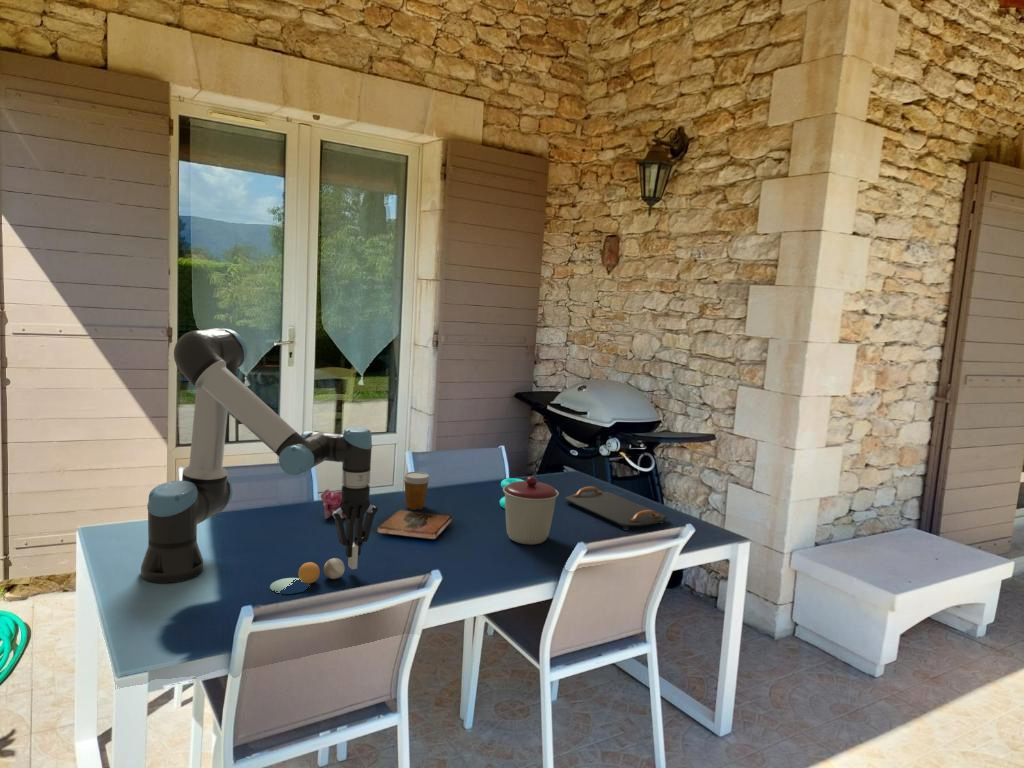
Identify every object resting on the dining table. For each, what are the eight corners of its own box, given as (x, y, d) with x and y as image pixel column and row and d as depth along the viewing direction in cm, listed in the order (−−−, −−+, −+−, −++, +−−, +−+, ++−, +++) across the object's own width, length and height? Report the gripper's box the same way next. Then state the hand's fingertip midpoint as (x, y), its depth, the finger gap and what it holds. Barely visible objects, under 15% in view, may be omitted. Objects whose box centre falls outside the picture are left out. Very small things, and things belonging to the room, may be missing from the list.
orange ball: (301, 583, 191) (291, 568, 189) (318, 570, 194) (309, 555, 192) (308, 591, 187) (299, 575, 185) (326, 577, 190) (317, 562, 187)
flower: (353, 525, 245) (355, 507, 238) (323, 529, 241) (324, 511, 234) (347, 498, 252) (349, 480, 245) (319, 502, 248) (319, 484, 242)
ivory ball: (342, 560, 198) (330, 577, 196) (329, 551, 194) (316, 568, 193) (352, 568, 194) (339, 585, 192) (338, 559, 190) (325, 577, 189)
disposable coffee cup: (415, 501, 264) (417, 469, 263) (433, 507, 258) (435, 475, 257) (396, 506, 257) (397, 474, 255) (414, 513, 251) (416, 480, 249)
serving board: (673, 526, 259) (675, 509, 258) (627, 535, 245) (629, 518, 244) (601, 496, 290) (603, 481, 289) (557, 503, 276) (558, 487, 275)
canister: (529, 554, 221) (534, 488, 218) (488, 537, 233) (492, 474, 230) (565, 541, 234) (571, 479, 231) (524, 525, 246) (529, 466, 243)
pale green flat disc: (264, 583, 188) (264, 582, 188) (301, 575, 194) (301, 575, 194) (277, 598, 180) (277, 597, 180) (315, 589, 186) (315, 589, 186)
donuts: (499, 477, 268) (525, 477, 270) (497, 502, 270) (523, 503, 272) (503, 484, 259) (530, 485, 260) (501, 511, 260) (528, 511, 262)
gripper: (338, 491, 187) (335, 576, 190) (383, 485, 195) (380, 567, 198) (327, 483, 193) (324, 566, 196) (371, 478, 201) (368, 558, 204)
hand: (352, 567), depth 197 cm, fingers closed
